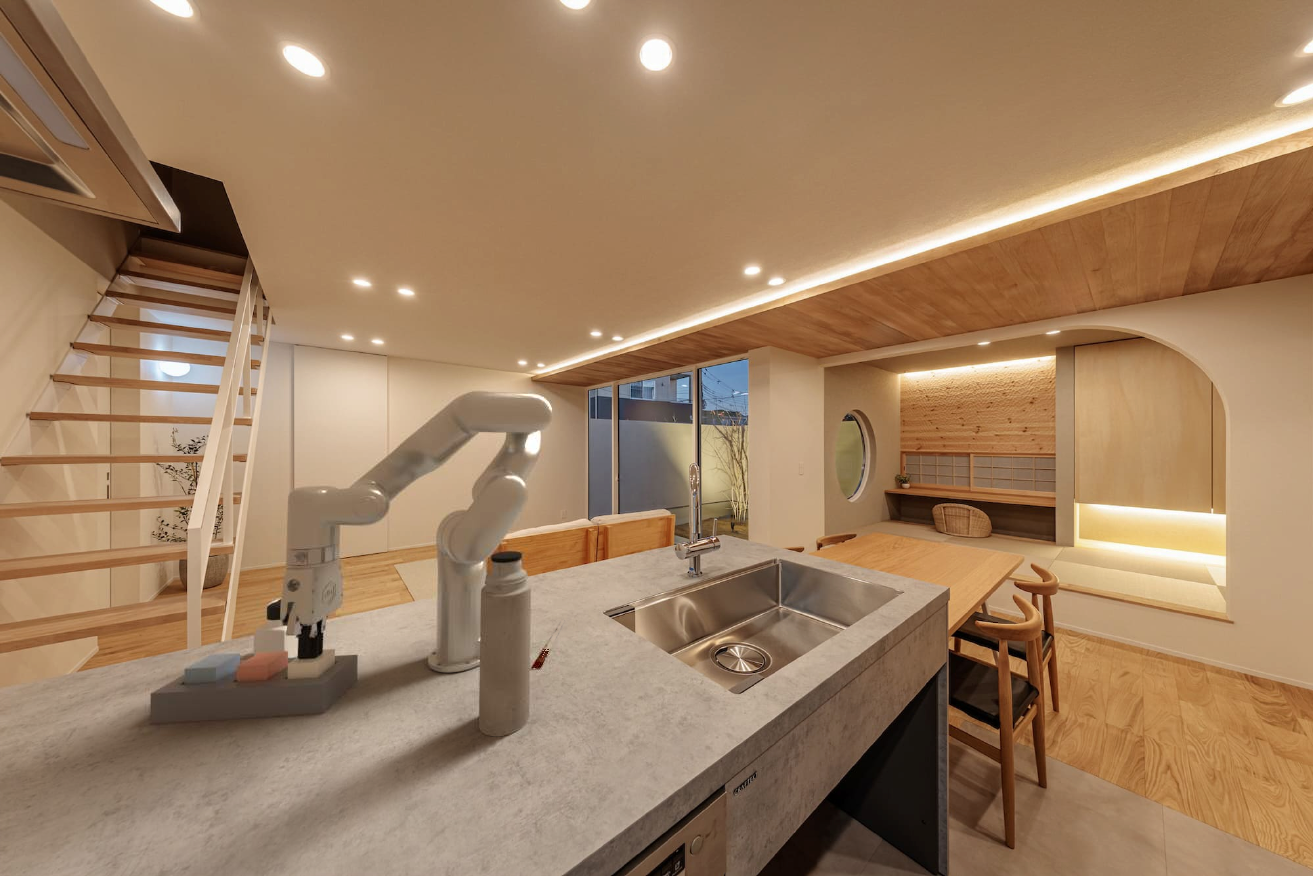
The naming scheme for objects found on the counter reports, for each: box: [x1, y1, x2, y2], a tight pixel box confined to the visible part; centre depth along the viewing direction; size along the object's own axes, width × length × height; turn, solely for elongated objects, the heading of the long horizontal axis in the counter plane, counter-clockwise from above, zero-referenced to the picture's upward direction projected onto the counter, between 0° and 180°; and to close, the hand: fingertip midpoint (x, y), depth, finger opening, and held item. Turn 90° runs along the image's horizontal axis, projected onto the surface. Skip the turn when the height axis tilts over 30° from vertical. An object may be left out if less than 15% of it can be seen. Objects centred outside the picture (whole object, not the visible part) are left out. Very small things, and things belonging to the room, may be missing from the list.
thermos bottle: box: [478, 550, 532, 737], centre depth 71 cm, size 8×8×28 cm
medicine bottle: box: [253, 597, 305, 658], centre depth 92 cm, size 7×7×12 cm
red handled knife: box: [531, 648, 550, 669], centre depth 99 cm, size 2×24×1 cm, turn 179°
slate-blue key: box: [184, 652, 241, 685], centre depth 75 cm, size 5×5×4 cm
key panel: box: [149, 654, 359, 725], centre depth 76 cm, size 26×10×5 cm, turn 97°
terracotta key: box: [237, 651, 288, 682], centre depth 76 cm, size 5×5×4 cm
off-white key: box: [288, 648, 336, 679], centre depth 77 cm, size 5×5×4 cm
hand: (310, 656), depth 77 cm, fingers closed
